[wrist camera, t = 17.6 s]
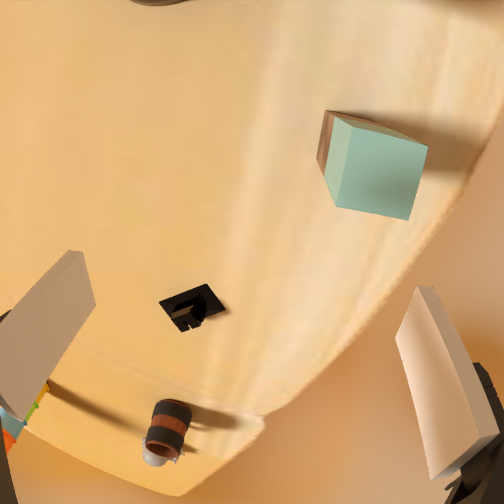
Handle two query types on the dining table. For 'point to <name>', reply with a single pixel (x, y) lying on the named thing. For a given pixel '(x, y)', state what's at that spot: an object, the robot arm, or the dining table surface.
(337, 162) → the teal block
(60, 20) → the dining table surface
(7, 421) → the stacking cups
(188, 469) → the dining table surface
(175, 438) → the mug
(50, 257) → the dining table surface
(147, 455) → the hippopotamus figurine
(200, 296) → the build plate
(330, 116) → the walnut block
